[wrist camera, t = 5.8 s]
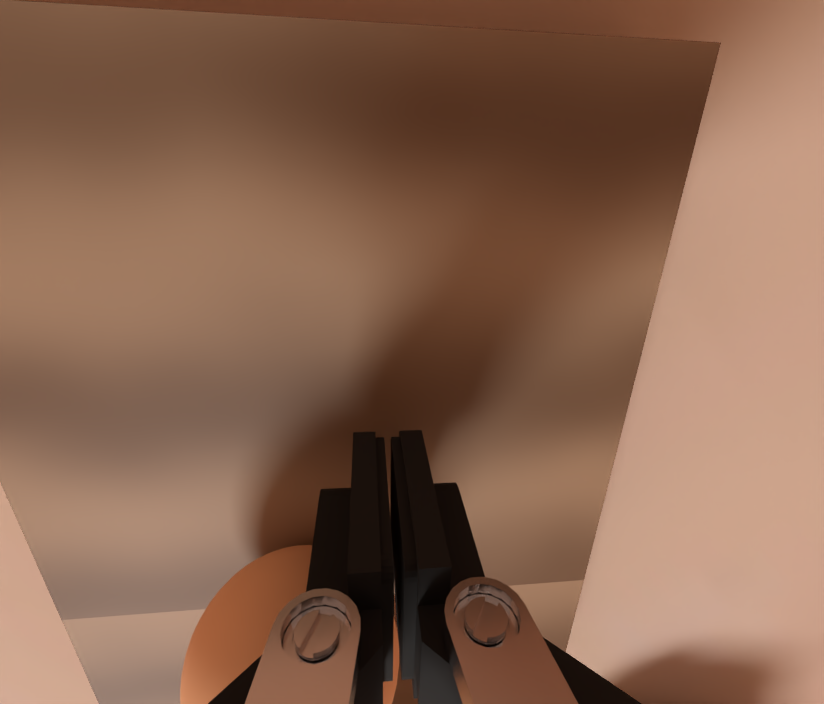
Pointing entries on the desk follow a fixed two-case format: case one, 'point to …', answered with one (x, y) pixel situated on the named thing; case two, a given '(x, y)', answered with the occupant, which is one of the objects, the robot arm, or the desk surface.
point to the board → (316, 293)
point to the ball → (249, 624)
